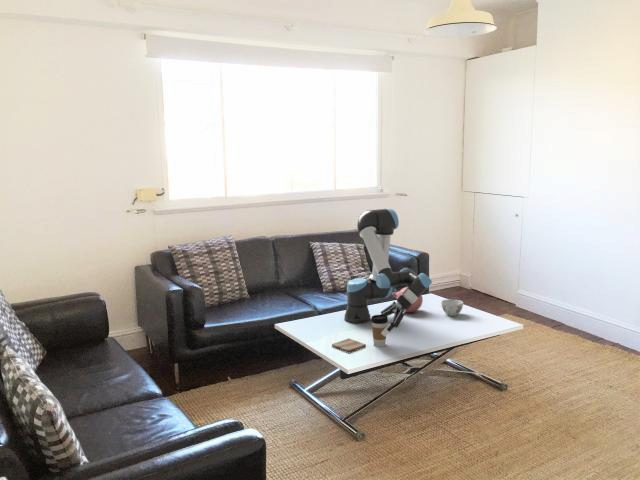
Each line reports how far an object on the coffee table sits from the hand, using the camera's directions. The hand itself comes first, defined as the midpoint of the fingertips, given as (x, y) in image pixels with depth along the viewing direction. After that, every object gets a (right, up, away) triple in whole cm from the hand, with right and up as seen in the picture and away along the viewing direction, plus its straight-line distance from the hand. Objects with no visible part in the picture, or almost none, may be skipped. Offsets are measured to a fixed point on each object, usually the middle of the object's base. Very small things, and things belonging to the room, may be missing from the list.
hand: (378, 330), depth 270 cm
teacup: (+48, +1, +46) cm, 66 cm away
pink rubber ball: (+23, +2, +55) cm, 60 cm away
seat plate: (-15, -8, 0) cm, 17 cm away
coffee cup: (+1, -8, +2) cm, 8 cm away
